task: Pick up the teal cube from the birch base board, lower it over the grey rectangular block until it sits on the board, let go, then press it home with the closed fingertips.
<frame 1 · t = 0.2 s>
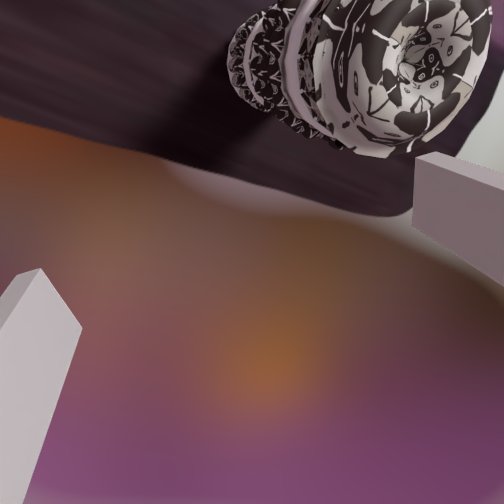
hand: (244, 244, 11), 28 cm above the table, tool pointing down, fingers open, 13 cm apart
decorative candle: (266, 63, 34), on the table
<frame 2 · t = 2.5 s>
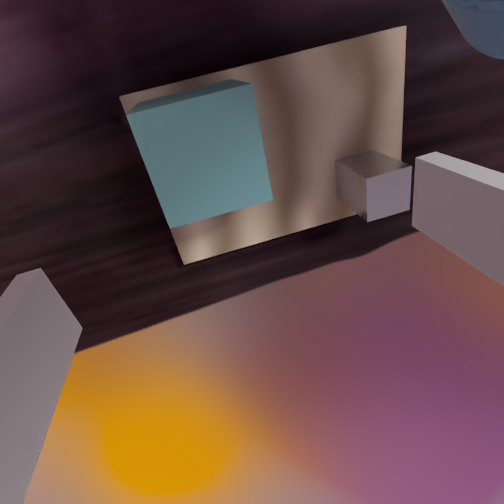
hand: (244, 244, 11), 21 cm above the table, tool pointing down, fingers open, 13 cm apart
teal cube: (198, 139, 28), point 1 cm above the table, touching base board
base board: (278, 154, 31), on the table
grey rectangular block: (354, 174, 32), resting on base board
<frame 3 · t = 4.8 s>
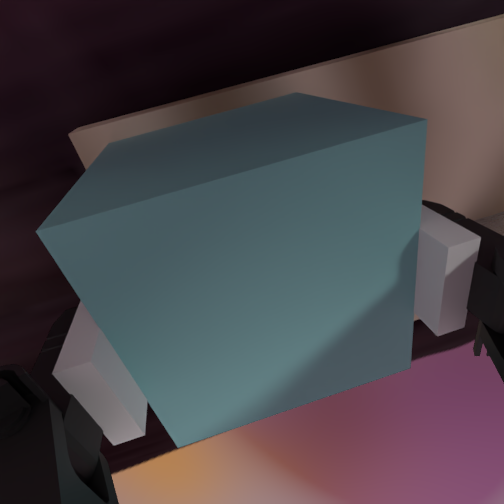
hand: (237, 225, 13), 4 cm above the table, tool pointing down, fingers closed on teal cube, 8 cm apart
teal cube: (228, 204, 15), point 2 cm above the table, touching base board, gripper
base board: (359, 216, 18), on the table
grey rectangular block: (483, 245, 19), resting on base board
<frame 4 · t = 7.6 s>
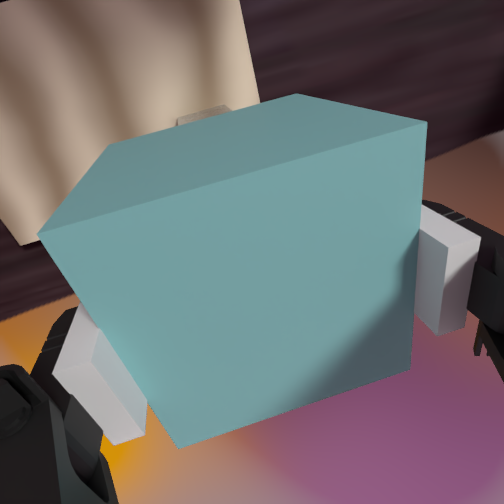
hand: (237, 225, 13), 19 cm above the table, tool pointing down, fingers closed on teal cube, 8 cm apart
teal cube: (228, 205, 15), point 17 cm above the table, touching gripper
base board: (112, 113, 27), on the table
grey rectangular block: (208, 135, 28), resting on base board
when the fingers open (5 cm above the table, at t = 10.7 s): teal cube drops 2 cm, resting on base board.
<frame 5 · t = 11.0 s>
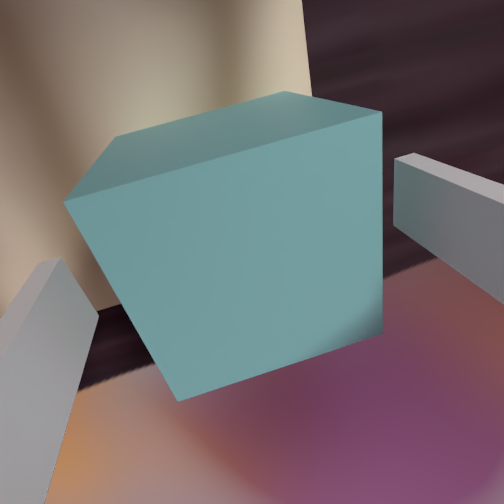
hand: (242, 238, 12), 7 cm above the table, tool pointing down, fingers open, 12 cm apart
teal cube: (224, 193, 16), point 1 cm above the table, touching base board
base board: (54, 154, 15), on the table
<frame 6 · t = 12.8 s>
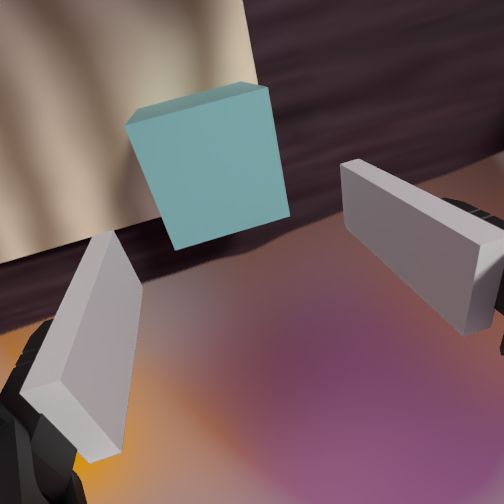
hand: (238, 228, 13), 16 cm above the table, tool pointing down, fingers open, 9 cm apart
teal cube: (205, 147, 25), point 1 cm above the table, touching base board
base board: (98, 120, 24), on the table
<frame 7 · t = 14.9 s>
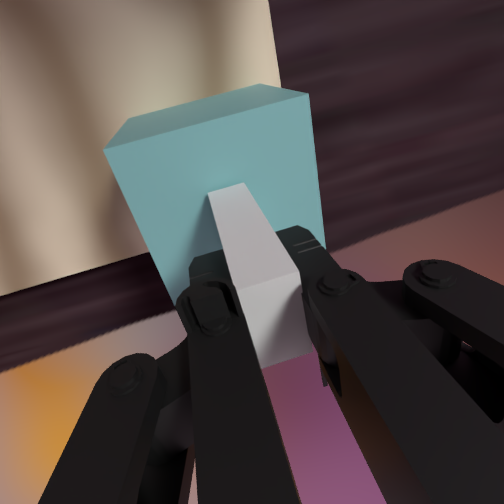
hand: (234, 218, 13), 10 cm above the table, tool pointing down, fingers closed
teal cube: (213, 165, 20), point 1 cm above the table, touching base board, gripper
base board: (79, 133, 19), on the table
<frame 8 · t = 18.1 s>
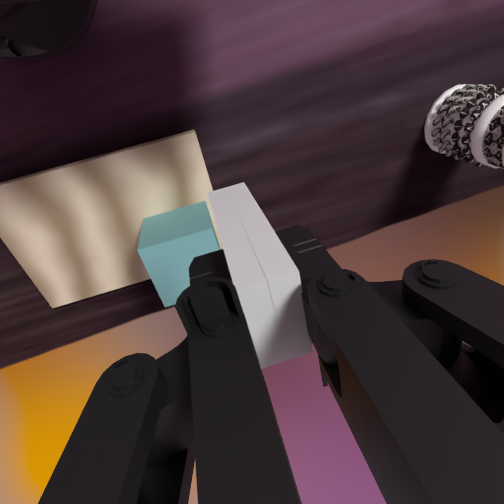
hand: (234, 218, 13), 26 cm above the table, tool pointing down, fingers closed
teal cube: (184, 236, 41), point 1 cm above the table, touching base board
base board: (119, 222, 39), on the table
decorative candle: (452, 119, 42), on the table
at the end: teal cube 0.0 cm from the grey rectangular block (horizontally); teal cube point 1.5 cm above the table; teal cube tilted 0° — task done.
